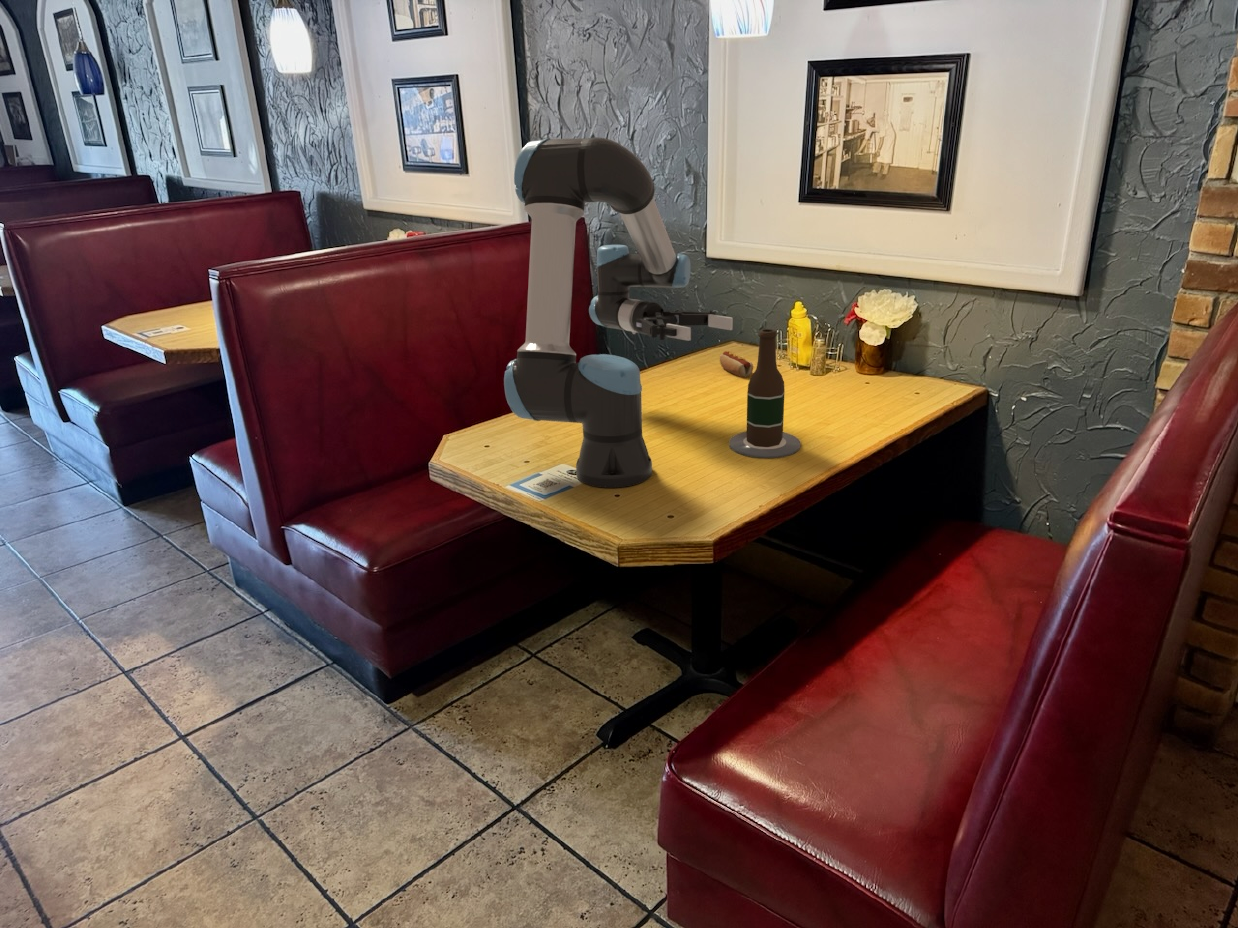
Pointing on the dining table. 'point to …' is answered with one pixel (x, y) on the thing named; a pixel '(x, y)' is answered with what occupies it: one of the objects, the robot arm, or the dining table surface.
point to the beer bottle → (765, 396)
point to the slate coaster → (785, 447)
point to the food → (735, 364)
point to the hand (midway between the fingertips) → (711, 329)
